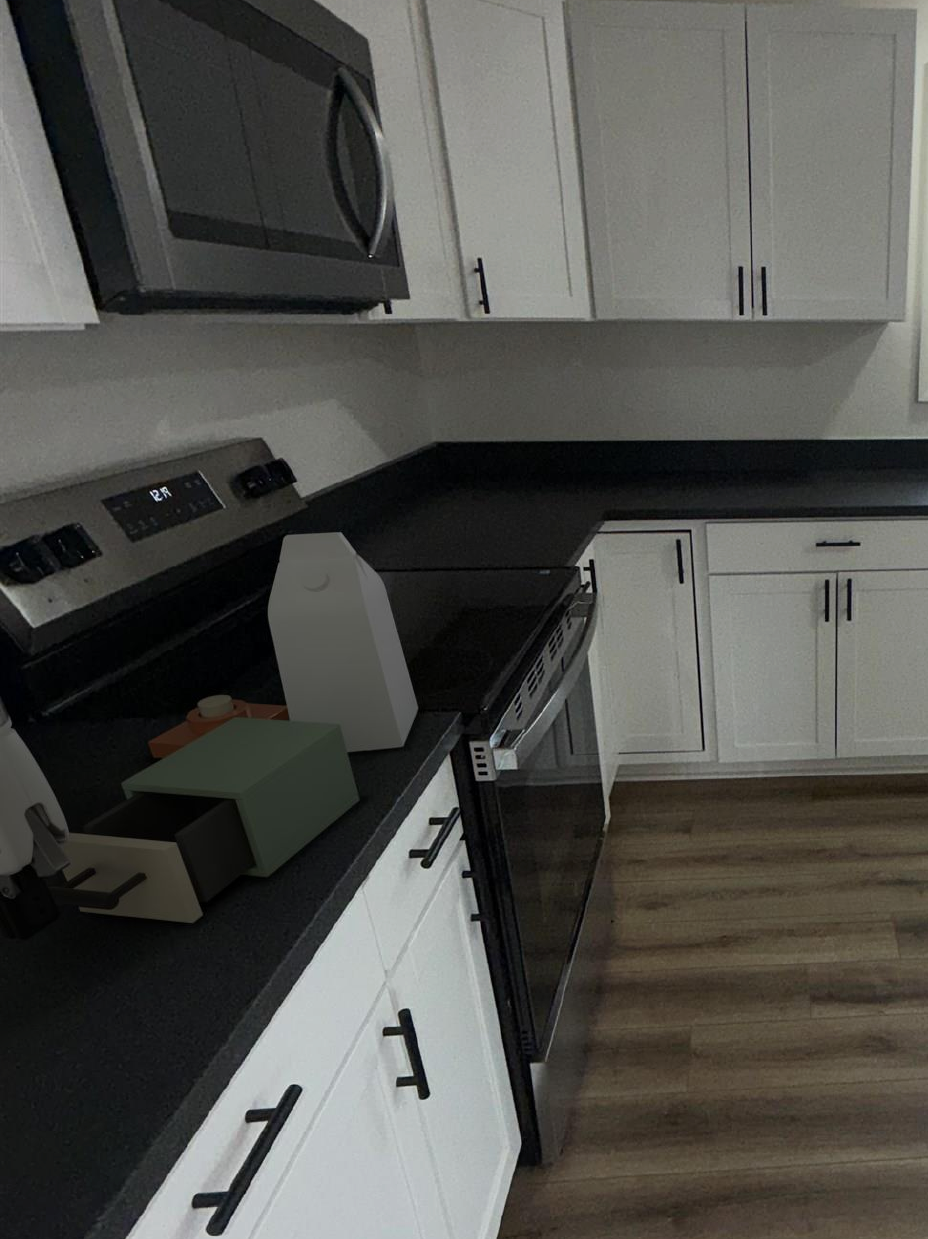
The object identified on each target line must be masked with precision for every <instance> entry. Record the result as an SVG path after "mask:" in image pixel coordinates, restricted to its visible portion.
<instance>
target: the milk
mask: <svg viewBox="0 0 928 1239" xmlns="http://www.w3.org/2000/svg"><path fill="white" fill-rule="evenodd" d="M281 545H282V546H281V548H280V549H281V550H280V555H279V562H278V563H277V568H276V572H275V576H274V580H273V583H272V588H271V590H270V596H269V600H268V605H267V619H268V625H269V629H270V634H271V638H272V642H273V647H274V653H275V657H276V662H277V666H278V672H279V676H280V680H281V685H282V689H283V694H284V698H285V703H286V706H287V708H288V713H289V718H290V721H299V722H314V723H328V724H340V727H341V731H342V735H343V738H344V742H345V746H346V750H347V753H353V752H364V751H375V750H384V749H386V750H387V749H394V748H395V749H396V748H403V747H404V746H405V743H406V740H407V738H408V735H409V733H410V731H411V728H412V726H413V723H414V721H415V718H416V716H417V714H418V710H419V705H418V703H417V698H416V694H415V692H414V688H413V684H412V680H411V677H410V673H409V669H408V666H407V662H406V659H405V655H404V652H403V648H402V644H401V640H400V637H399V633H398V629H397V626H396V623H395V618H394V614H393V611H392V606H391V604H390V600H389V597H388V593H387V589H386V587H385V583H384V581H383V579H382V578H381V576H380V575H379V574H378V572H376V571H375V569H374V570H373V569H372V568H371V567H370V566H369V565H368V564H367V563H366V562H365V561H366V560H364V559H363V557H361V556H360V555H359V554H357V551H356V550H355V549H354V547H353V546H352V545H351V543H350V542H349V540H347V538H346V537H345V535H344V534H343V533H342V531H339V532H338V531H337V532H320V533H319V532H317V533H297V534H286V535H285V536H284V537H283V539H282V544H281Z"/></svg>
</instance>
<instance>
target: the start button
mask: <svg viewBox="0 0 928 1239" xmlns="http://www.w3.org/2000/svg"><path fill="white" fill-rule="evenodd" d="M232 700H233V699H232V697H231V696H230V695H228V694H216V695H212V696H207V697H205V698H202V699H201V700H199V701H198V702H197V707H198V708H199V711H200V714H201V717H202V718H211V717H218V716H222V715H225V714H228V713H230V712H232V711H234V710H235V708H234V705H233V702H232Z"/></svg>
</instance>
